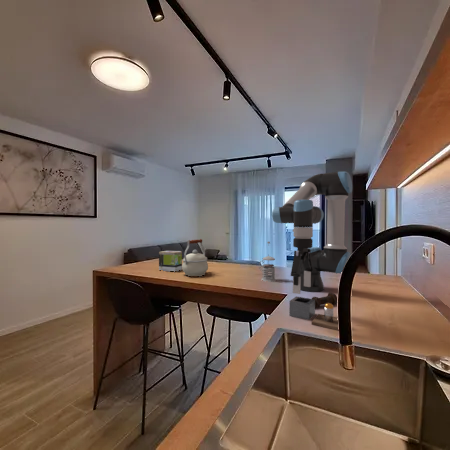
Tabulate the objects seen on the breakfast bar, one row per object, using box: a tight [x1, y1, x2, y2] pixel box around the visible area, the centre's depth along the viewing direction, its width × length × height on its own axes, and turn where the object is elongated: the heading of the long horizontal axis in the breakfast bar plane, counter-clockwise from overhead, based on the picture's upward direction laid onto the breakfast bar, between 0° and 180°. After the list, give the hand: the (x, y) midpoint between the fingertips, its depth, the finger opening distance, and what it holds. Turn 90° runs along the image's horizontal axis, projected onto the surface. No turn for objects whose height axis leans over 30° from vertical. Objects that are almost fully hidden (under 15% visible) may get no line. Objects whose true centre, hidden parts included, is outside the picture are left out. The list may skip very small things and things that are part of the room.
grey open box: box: [288, 296, 316, 321], centre depth 108 cm, size 8×8×6 cm
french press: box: [258, 241, 277, 283], centre depth 171 cm, size 10×12×25 cm
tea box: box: [158, 250, 183, 273], centre depth 203 cm, size 15×10×15 cm
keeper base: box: [311, 313, 339, 331], centre depth 100 cm, size 10×10×1 cm
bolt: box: [311, 292, 338, 309], centre depth 120 cm, size 6×5×15 cm
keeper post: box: [323, 303, 334, 322], centre depth 100 cm, size 3×3×7 cm
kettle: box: [181, 238, 209, 277], centre depth 188 cm, size 25×18×25 cm
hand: (302, 289), depth 108 cm, fingers open, 13 cm apart
